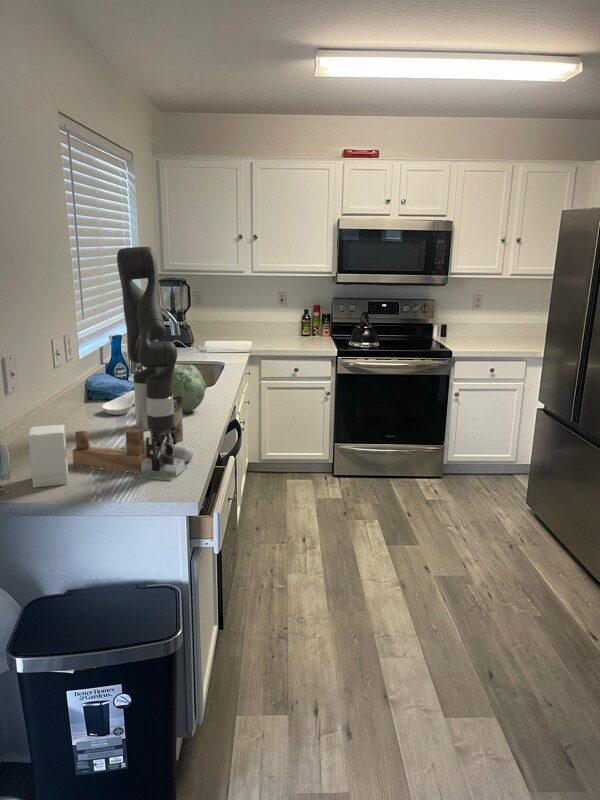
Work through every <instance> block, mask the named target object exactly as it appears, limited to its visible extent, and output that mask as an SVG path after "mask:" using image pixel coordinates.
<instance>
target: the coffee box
mask: <svg viewBox="0 0 600 800" xmlns="http://www.w3.org/2000/svg"><path fill="white" fill-rule="evenodd" d="M172 397H173V403H174V424H175V426H176V438H177V443H180V442H183V441H184V433H183V431H184V429H183V427H184V426H183V413H182V396H181V395H179V394H174V393H172ZM149 431H150V434H149V435H150V436H149V437H150V438H151V437H152V431H151V430H149ZM172 439H173V437H172Z"/></svg>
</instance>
